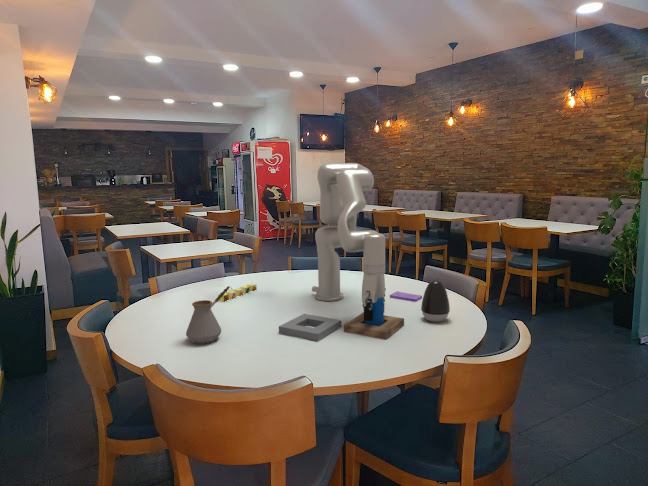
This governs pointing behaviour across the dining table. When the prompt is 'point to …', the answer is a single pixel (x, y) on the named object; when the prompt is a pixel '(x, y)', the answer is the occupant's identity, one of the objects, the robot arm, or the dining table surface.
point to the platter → (238, 292)
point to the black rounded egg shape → (435, 302)
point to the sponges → (405, 296)
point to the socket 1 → (320, 331)
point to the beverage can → (377, 313)
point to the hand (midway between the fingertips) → (374, 316)
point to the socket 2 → (374, 327)
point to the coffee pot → (204, 322)
